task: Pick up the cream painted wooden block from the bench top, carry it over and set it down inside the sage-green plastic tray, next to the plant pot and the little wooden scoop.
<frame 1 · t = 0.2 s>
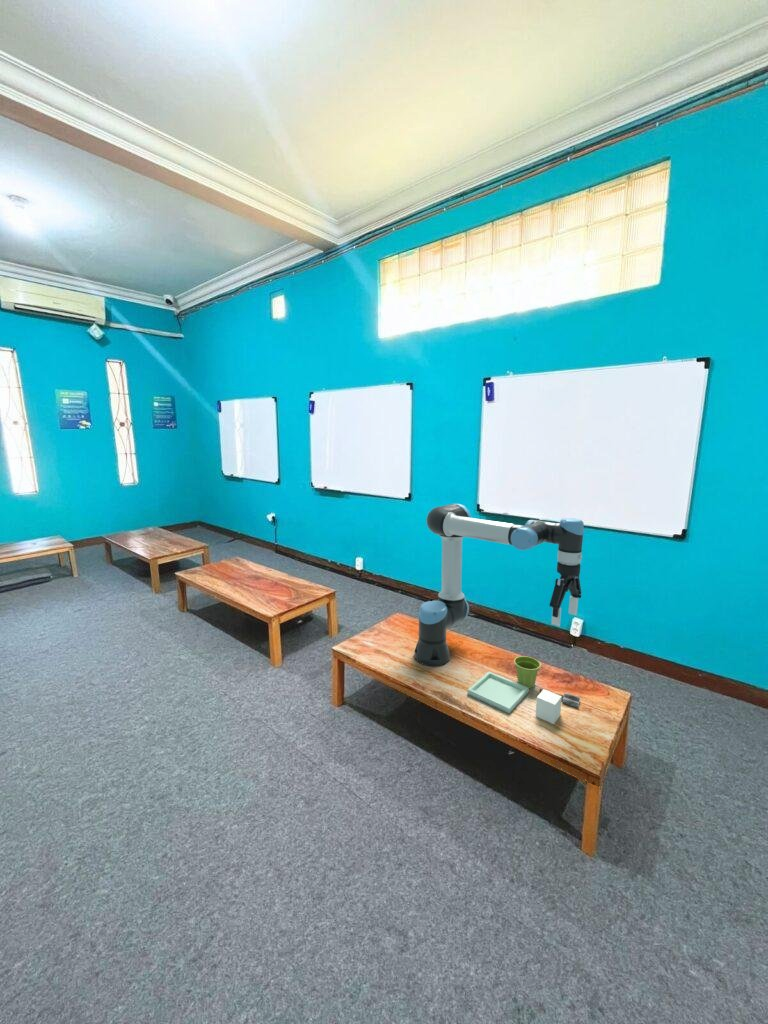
hand: (564, 619, 144), 28 cm above the table, fingers open, 13 cm apart
plant pot: (525, 684, 152), on the table
block: (547, 715, 134), on the table
tray: (498, 693, 146), on the table
scoop: (563, 700, 142), on the table
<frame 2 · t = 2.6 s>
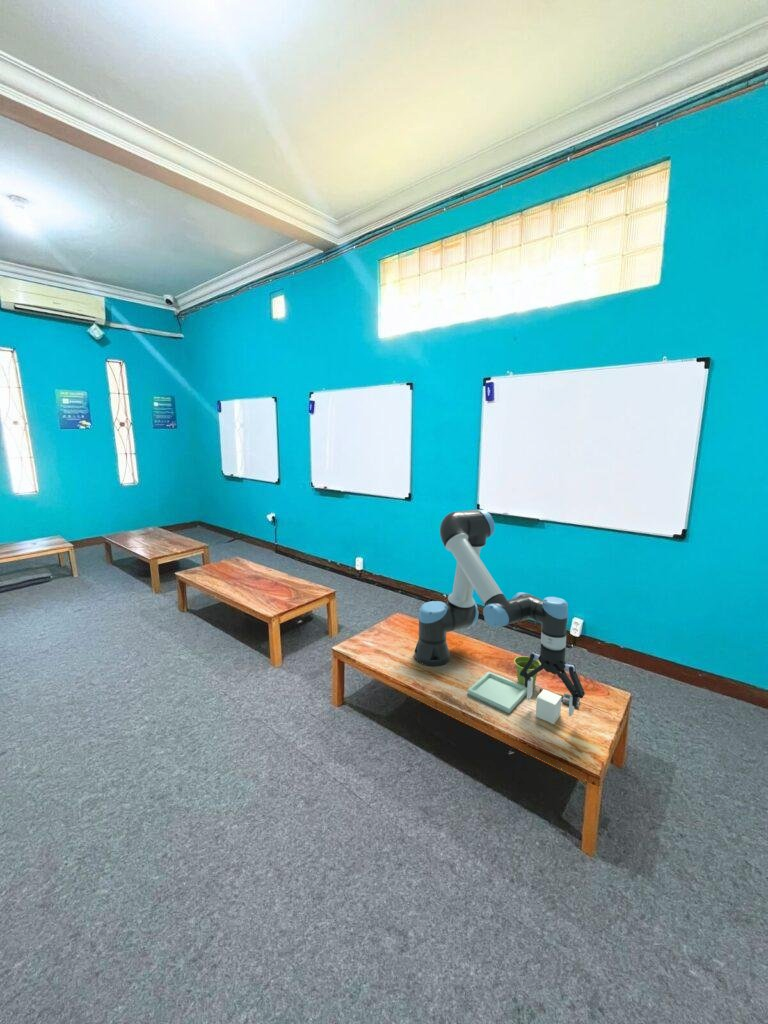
hand: (549, 705, 133), 4 cm above the table, fingers open, 13 cm apart
nothing on the table moved.
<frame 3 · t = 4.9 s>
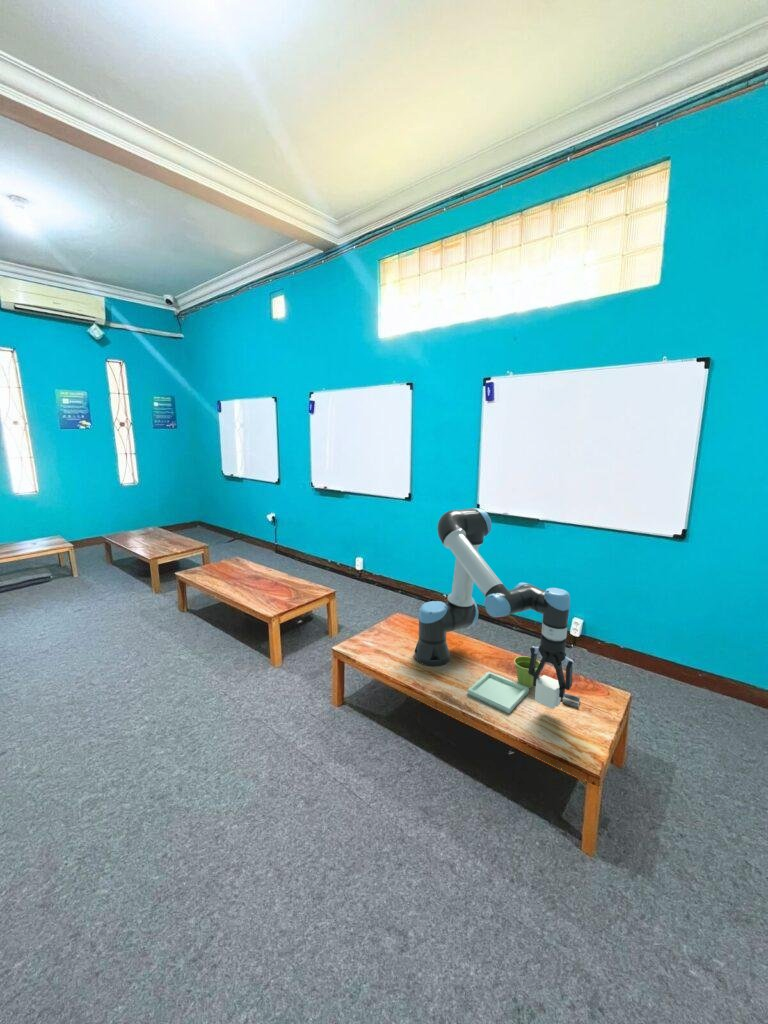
hand: (547, 699, 134), 5 cm above the table, fingers closed on block, 6 cm apart
block: (547, 701, 134), point 5 cm above the table, touching gripper
everything else where it was.
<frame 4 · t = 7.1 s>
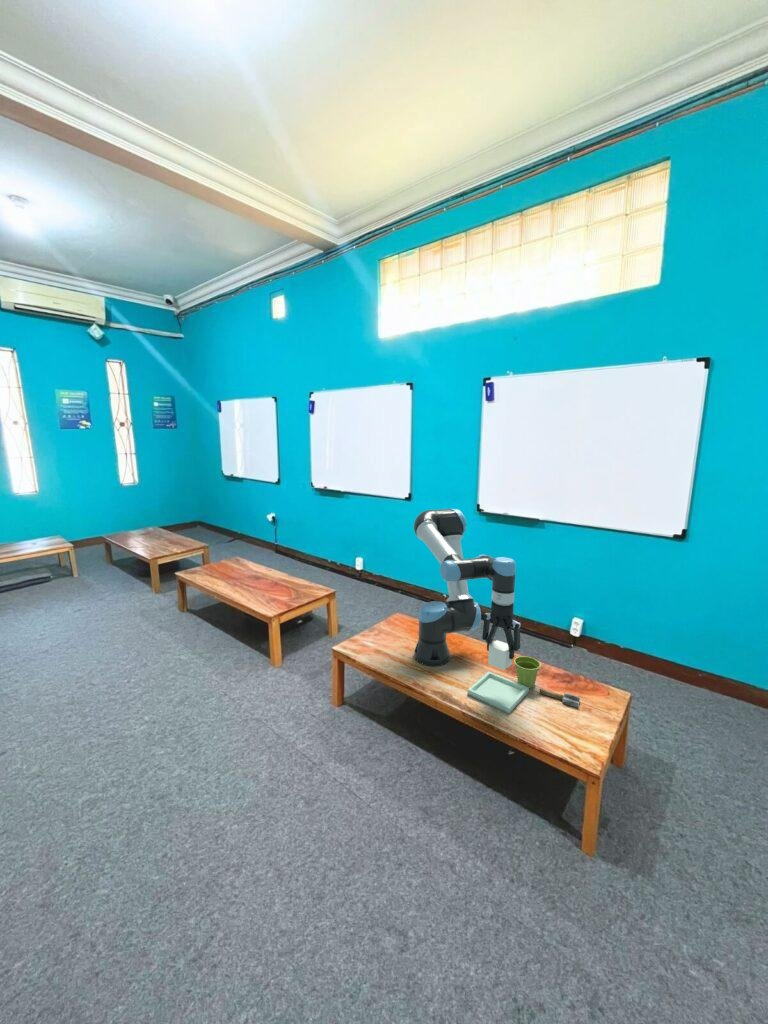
hand: (499, 662, 144), 12 cm above the table, fingers closed on block, 6 cm apart
block: (499, 663, 144), point 12 cm above the table, touching gripper
everything else where it was.
when the fingers open (2 cm above the table, at t = 9.2 s): block stays where it is, resting on tray.
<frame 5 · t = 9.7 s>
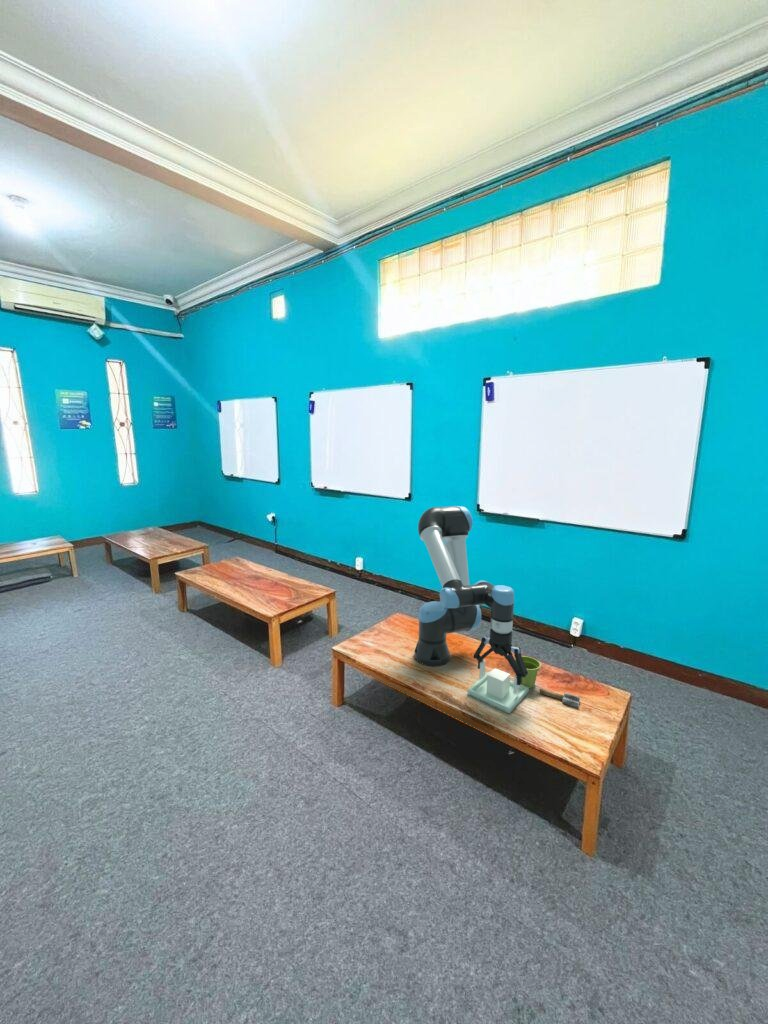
hand: (498, 684, 145), 4 cm above the table, fingers open, 13 cm apart
block: (497, 692, 146), point 1 cm above the table, touching tray
everything else where it was.
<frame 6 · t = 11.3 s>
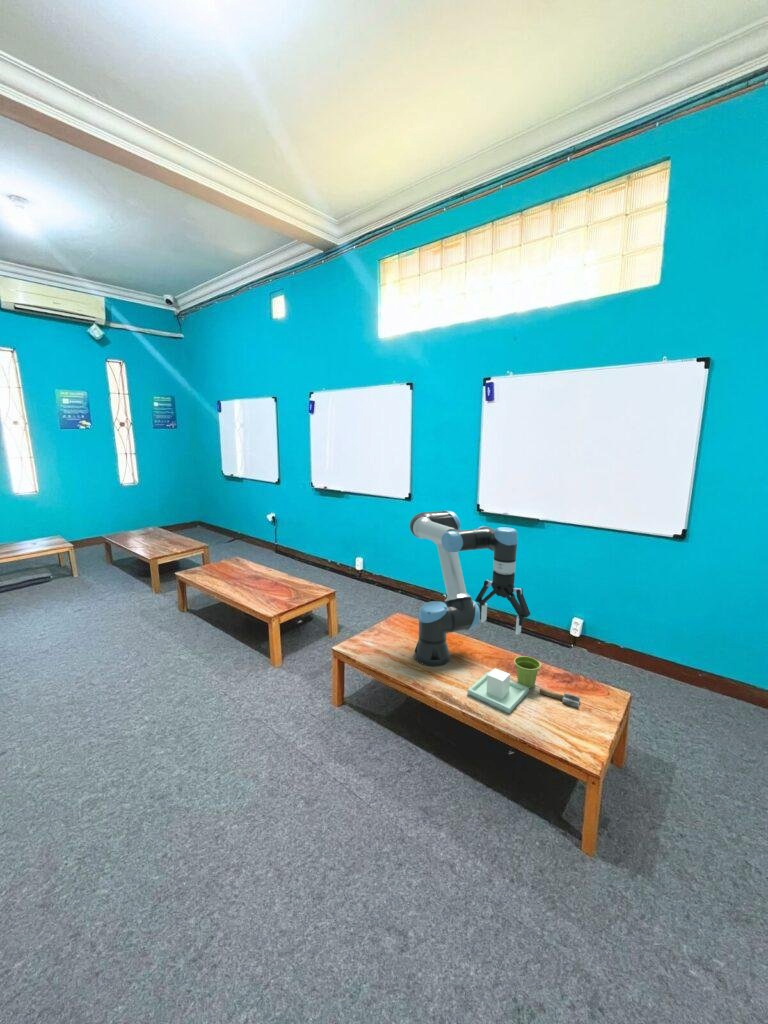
hand: (500, 627, 145), 24 cm above the table, fingers open, 13 cm apart
nothing on the table moved.
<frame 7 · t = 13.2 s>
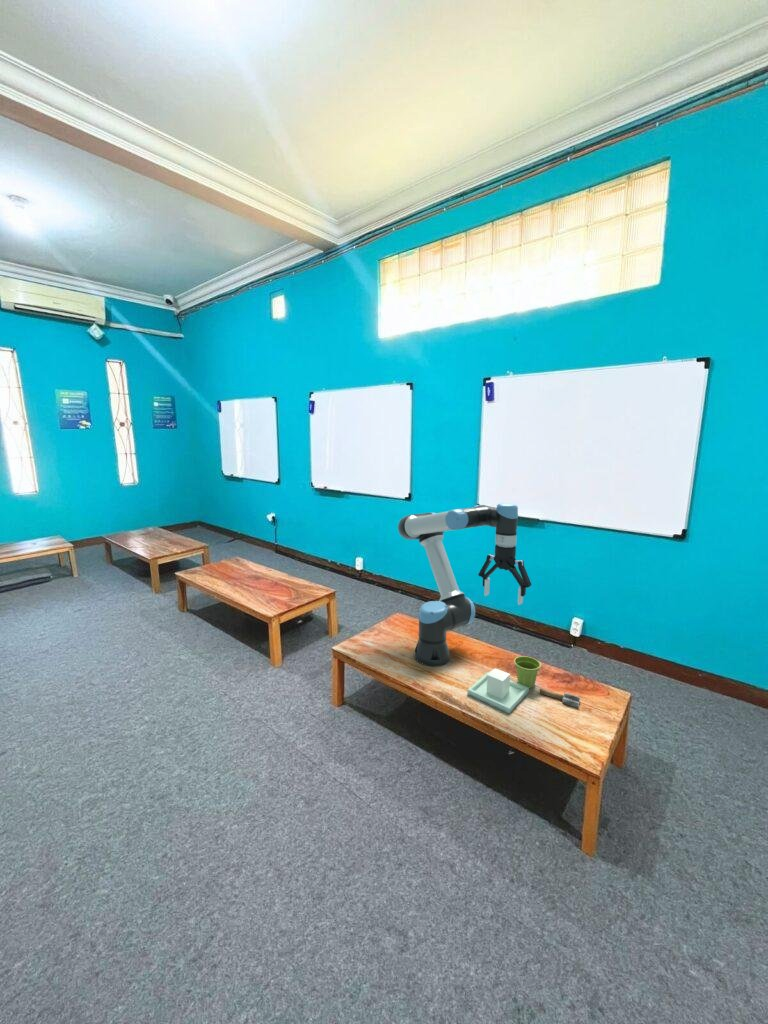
hand: (502, 599, 152), 32 cm above the table, fingers open, 13 cm apart
nothing on the table moved.
at the end: block inside the target area on the tray (0.1 cm from its centre), point 0.6 cm above the tray's base; block tilted 0°; the gripper is holding nothing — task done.
